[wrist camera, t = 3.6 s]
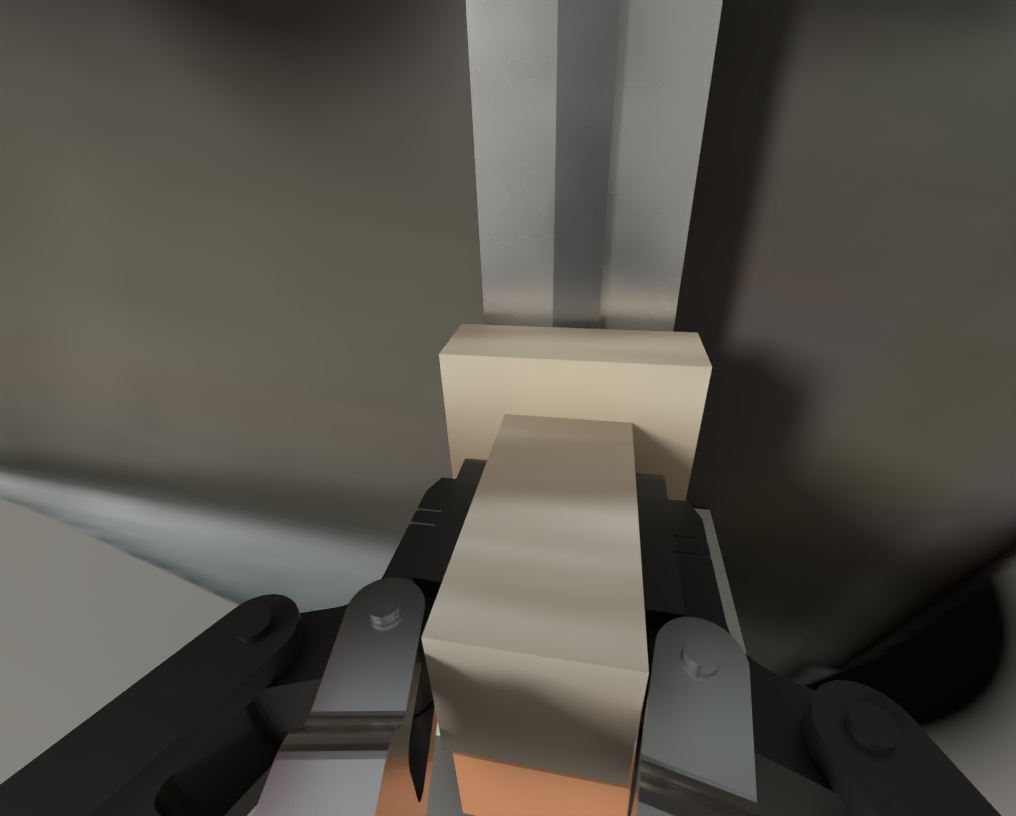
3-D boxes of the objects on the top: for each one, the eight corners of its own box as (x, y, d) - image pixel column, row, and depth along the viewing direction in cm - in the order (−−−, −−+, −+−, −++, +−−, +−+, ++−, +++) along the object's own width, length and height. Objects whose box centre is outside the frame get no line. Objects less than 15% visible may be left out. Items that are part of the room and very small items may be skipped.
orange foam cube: (483, 634, 13) (453, 754, 11) (630, 656, 13) (635, 789, 10) (488, 695, 15) (463, 813, 12) (620, 718, 14) (622, 847, 12)
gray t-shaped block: (397, -309, 9) (215, -679, 5) (859, -404, 8) (1152, -1031, 4) (468, 476, 19) (426, 578, 14) (682, 496, 17) (706, 615, 13)
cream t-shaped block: (461, 323, 13) (294, 545, 6) (697, 332, 12) (815, 612, 5) (476, 497, 16) (374, 775, 9) (664, 516, 15) (710, 846, 8)
